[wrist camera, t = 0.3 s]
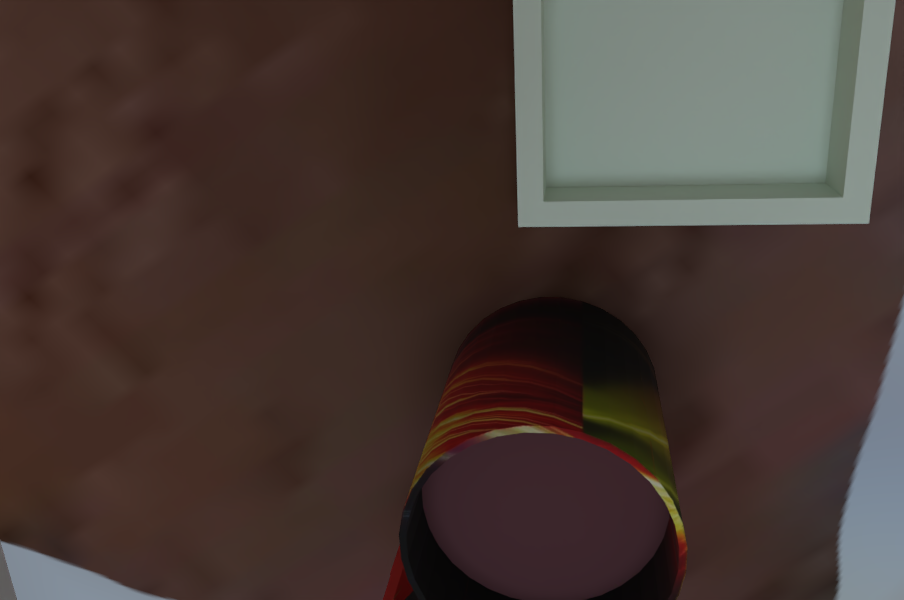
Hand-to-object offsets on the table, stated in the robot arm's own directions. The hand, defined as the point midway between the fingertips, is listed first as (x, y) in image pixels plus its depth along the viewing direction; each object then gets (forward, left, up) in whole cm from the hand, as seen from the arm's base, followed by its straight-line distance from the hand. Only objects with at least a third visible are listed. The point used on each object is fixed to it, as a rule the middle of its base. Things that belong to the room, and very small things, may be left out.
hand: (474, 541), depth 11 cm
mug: (+14, -1, -28) cm, 31 cm away
